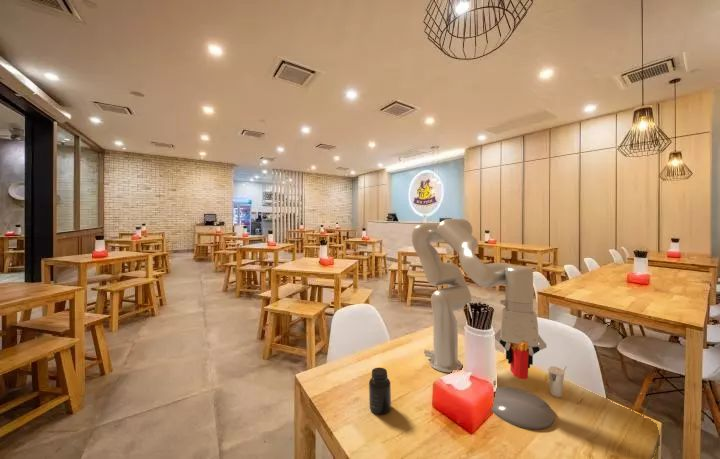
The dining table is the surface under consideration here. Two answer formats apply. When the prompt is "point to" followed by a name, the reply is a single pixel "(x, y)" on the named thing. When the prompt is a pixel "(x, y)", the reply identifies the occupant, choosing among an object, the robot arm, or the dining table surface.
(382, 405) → the supplement bottle
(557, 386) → the milkshake
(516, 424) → the plate
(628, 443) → the dining table surface
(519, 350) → the french fries
